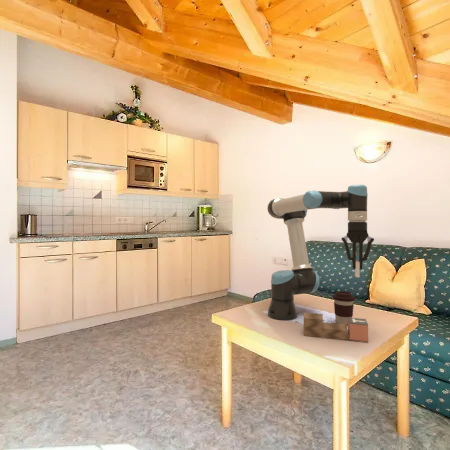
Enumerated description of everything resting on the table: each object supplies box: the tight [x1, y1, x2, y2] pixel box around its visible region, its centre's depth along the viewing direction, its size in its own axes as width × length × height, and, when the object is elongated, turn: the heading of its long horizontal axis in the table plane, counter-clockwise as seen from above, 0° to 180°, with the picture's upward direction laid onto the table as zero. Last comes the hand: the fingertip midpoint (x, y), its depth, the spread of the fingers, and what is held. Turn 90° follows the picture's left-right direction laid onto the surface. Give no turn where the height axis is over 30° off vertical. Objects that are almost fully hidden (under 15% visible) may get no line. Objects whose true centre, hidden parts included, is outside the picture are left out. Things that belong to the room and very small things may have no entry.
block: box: [347, 317, 369, 342], centre depth 126 cm, size 7×7×7 cm
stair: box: [303, 312, 369, 344], centre depth 129 cm, size 26×8×8 cm, turn 72°
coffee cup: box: [332, 290, 356, 326], centre depth 144 cm, size 10×10×15 cm
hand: (357, 276), depth 126 cm, fingers closed
